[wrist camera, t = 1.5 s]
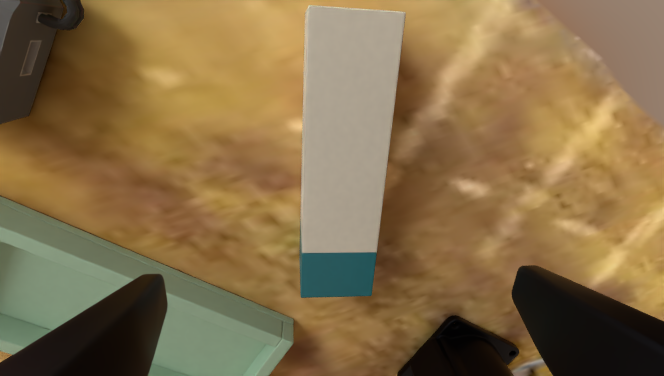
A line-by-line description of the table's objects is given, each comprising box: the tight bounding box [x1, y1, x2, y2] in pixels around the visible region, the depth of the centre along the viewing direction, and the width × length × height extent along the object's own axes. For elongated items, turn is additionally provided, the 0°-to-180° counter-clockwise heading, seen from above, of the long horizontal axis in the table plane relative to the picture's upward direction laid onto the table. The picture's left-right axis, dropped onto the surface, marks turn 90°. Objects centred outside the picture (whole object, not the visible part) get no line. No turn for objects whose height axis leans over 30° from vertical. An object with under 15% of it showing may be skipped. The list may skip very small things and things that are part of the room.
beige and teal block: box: [300, 5, 406, 298], centre depth 17 cm, size 13×4×4 cm, turn 177°
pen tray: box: [0, 196, 294, 376], centre depth 20 cm, size 18×8×2 cm, turn 57°
